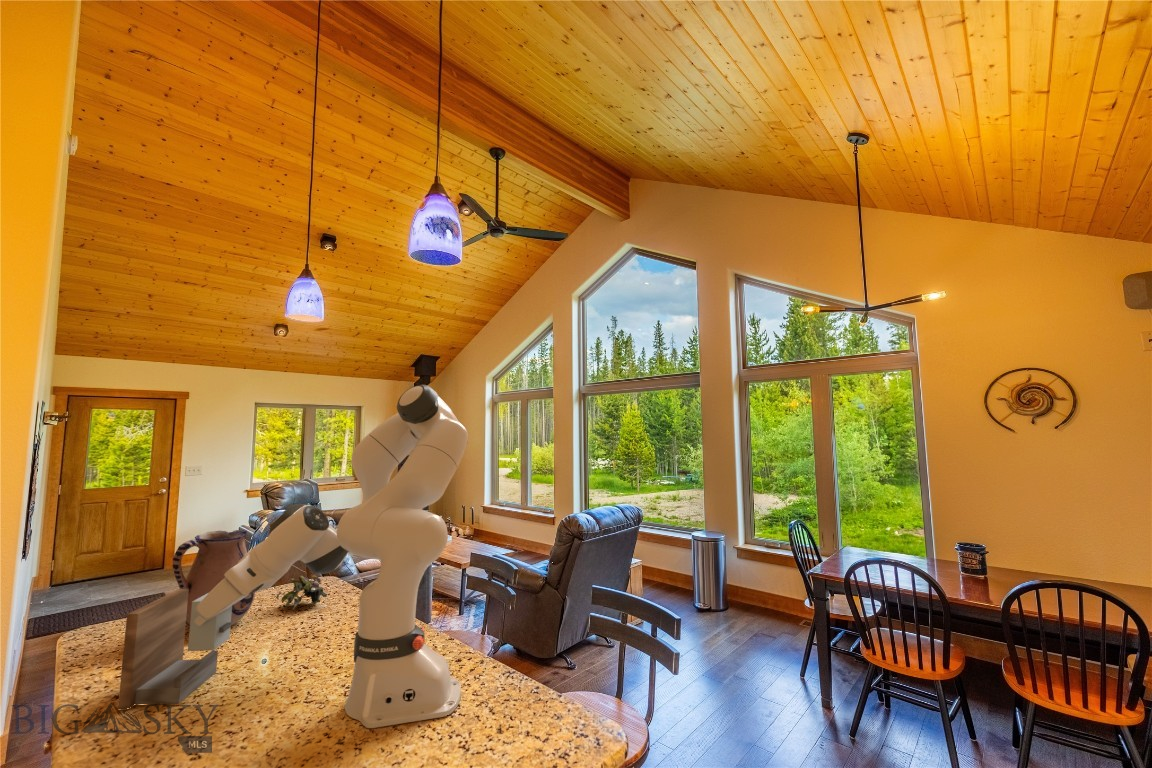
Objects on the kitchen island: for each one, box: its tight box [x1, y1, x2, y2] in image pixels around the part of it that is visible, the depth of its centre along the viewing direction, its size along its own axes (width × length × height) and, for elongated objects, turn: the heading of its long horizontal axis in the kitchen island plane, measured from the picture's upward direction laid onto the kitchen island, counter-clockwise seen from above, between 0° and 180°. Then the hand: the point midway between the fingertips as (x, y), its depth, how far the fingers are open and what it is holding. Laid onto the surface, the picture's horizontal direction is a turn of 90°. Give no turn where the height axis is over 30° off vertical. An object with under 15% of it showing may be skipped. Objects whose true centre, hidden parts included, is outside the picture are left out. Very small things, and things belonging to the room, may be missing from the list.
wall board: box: [117, 588, 219, 710], centre depth 107 cm, size 10×16×18 cm, turn 8°
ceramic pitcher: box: [172, 529, 256, 628], centre depth 140 cm, size 18×21×25 cm
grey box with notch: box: [187, 593, 232, 652], centre depth 109 cm, size 6×6×10 cm
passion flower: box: [276, 574, 328, 612], centre depth 156 cm, size 11×11×12 cm
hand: (208, 616), depth 109 cm, fingers closed on grey box with notch, 6 cm apart
